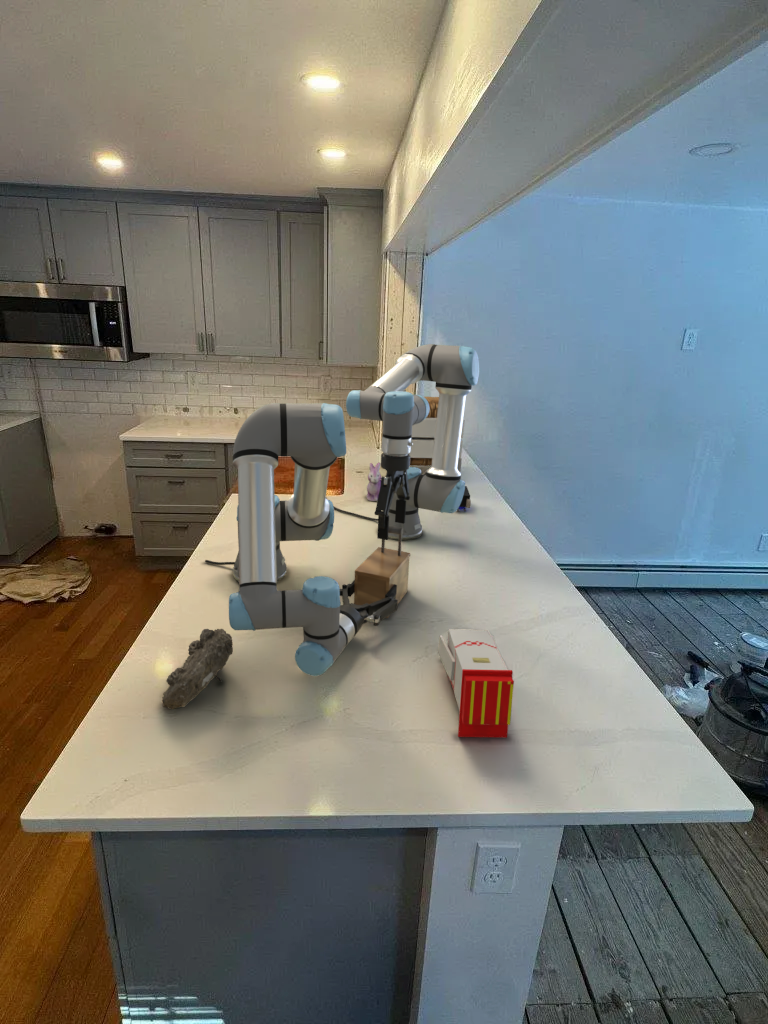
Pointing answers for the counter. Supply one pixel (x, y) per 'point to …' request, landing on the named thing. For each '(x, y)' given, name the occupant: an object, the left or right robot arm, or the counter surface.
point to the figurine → (374, 482)
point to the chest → (380, 586)
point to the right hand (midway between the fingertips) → (391, 530)
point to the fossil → (198, 667)
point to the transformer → (427, 437)
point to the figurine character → (465, 500)
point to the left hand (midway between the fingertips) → (376, 585)
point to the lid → (384, 559)
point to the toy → (478, 682)
